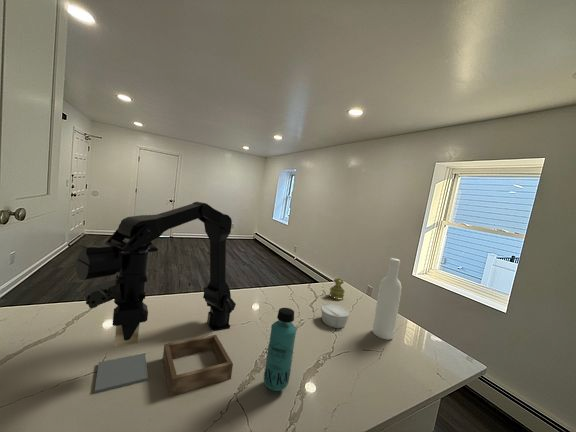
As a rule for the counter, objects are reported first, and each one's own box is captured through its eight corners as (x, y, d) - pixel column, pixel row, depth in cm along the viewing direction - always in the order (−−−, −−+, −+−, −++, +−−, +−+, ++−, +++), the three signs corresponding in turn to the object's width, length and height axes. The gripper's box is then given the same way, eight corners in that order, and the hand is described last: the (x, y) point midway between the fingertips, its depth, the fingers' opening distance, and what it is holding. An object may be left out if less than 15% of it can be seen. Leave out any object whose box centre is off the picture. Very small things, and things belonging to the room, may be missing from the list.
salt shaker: (334, 293, 135) (337, 275, 135) (346, 299, 130) (349, 280, 129) (326, 296, 130) (329, 277, 130) (338, 301, 125) (341, 282, 124)
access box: (214, 347, 75) (216, 334, 74) (231, 378, 63) (232, 363, 63) (162, 358, 67) (164, 344, 67) (170, 396, 55) (172, 379, 55)
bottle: (395, 342, 93) (408, 263, 91) (373, 336, 94) (386, 259, 93) (391, 331, 101) (403, 258, 99) (371, 327, 102) (382, 255, 100)
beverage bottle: (262, 377, 65) (272, 303, 64) (287, 378, 66) (298, 305, 65) (261, 396, 59) (273, 314, 57) (289, 398, 59) (301, 317, 58)
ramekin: (316, 323, 99) (318, 310, 98) (323, 313, 109) (325, 301, 109) (345, 332, 95) (347, 319, 94) (349, 321, 105) (351, 309, 105)
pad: (144, 355, 67) (145, 353, 67) (147, 380, 59) (147, 377, 59) (98, 364, 62) (98, 362, 62) (94, 393, 53) (94, 390, 53)
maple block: (136, 333, 63) (139, 310, 63) (137, 342, 59) (139, 318, 59) (115, 336, 61) (117, 312, 60) (114, 346, 57) (116, 321, 56)
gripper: (94, 260, 62) (88, 321, 63) (83, 288, 47) (77, 367, 48) (145, 259, 68) (139, 314, 69) (151, 284, 53) (144, 354, 54)
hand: (126, 334), depth 60 cm, fingers closed on maple block, 4 cm apart
